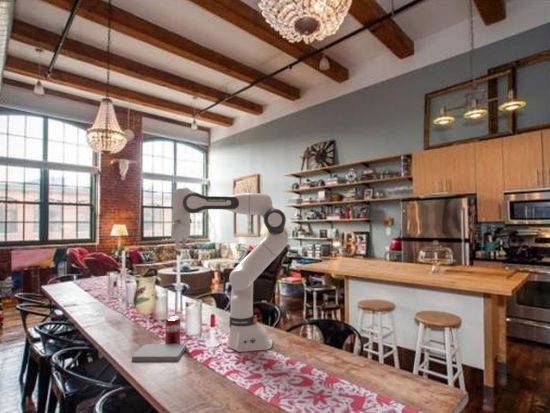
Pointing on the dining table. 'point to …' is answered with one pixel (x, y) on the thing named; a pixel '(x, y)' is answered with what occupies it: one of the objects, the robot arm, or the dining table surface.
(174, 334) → the soda can
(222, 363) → the dining table surface
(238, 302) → the robot arm
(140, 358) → the serving board
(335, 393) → the dining table surface
